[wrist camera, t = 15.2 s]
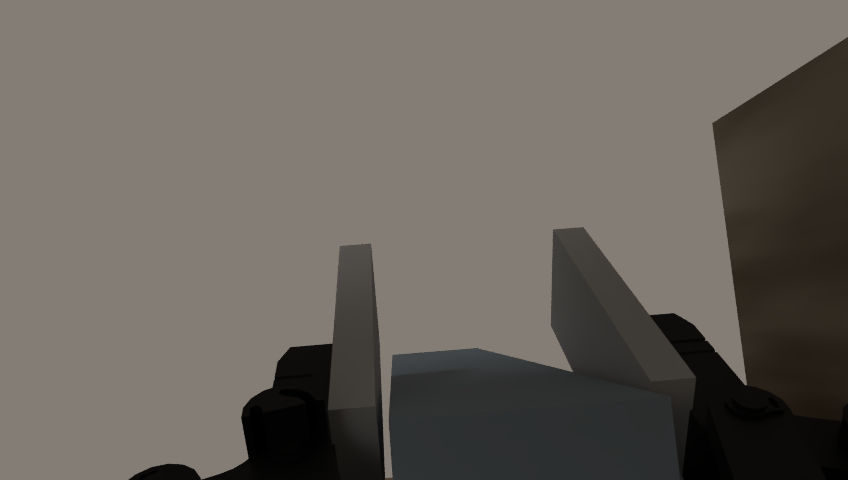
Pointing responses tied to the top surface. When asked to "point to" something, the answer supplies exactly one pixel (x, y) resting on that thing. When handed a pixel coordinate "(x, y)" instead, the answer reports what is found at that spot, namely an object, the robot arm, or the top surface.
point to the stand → (791, 233)
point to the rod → (522, 422)
